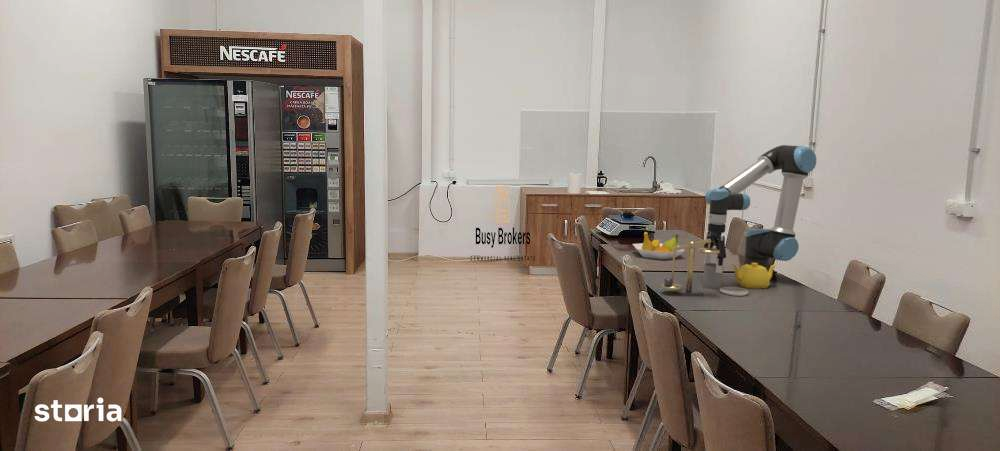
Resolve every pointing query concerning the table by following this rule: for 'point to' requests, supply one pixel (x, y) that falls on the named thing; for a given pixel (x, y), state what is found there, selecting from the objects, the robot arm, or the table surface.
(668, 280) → the balance
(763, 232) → the robot arm
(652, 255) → the fruit
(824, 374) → the table surface
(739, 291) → the dish
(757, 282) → the teapot
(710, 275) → the cup
